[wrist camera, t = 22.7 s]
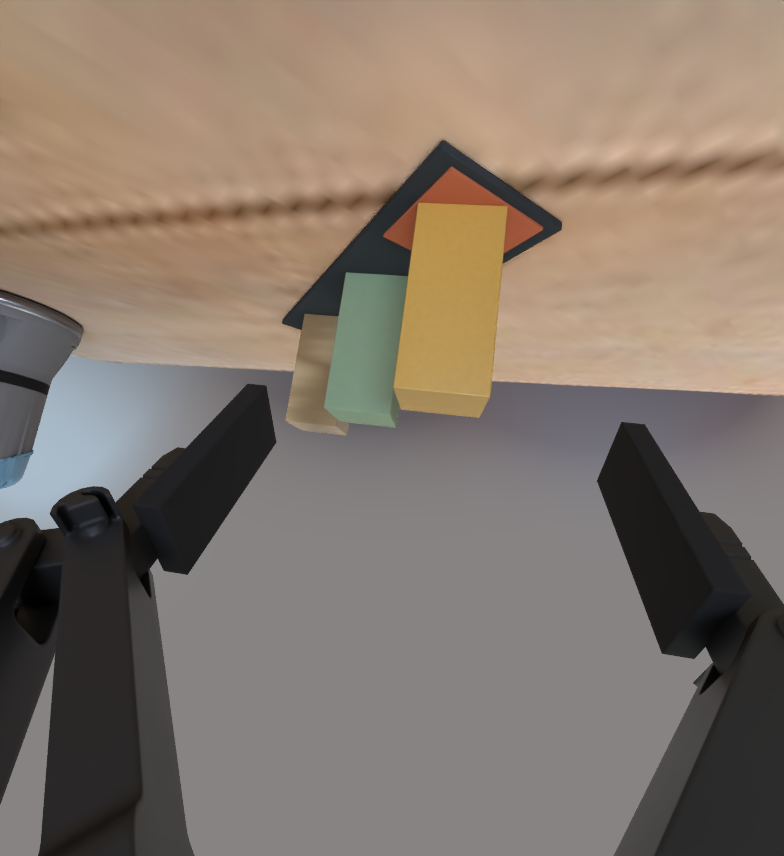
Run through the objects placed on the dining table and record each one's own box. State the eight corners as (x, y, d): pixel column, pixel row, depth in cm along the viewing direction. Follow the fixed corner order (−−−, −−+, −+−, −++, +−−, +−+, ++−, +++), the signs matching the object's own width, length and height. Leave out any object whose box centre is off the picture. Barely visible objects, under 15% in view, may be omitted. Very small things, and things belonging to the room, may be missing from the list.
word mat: (357, 344, 48) (356, 349, 48) (282, 319, 44) (281, 325, 43) (562, 222, 24) (561, 233, 24) (442, 139, 20) (441, 152, 19)
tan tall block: (318, 334, 45) (302, 430, 43) (304, 313, 40) (284, 420, 38) (362, 338, 45) (347, 435, 43) (353, 317, 40) (336, 426, 38)
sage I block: (357, 303, 37) (339, 421, 35) (345, 271, 32) (323, 407, 30) (412, 307, 36) (396, 428, 34) (409, 275, 31) (390, 415, 29)
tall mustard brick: (421, 256, 28) (400, 410, 26) (418, 201, 23) (392, 387, 21) (494, 260, 27) (479, 418, 25) (507, 205, 22) (490, 397, 20)
